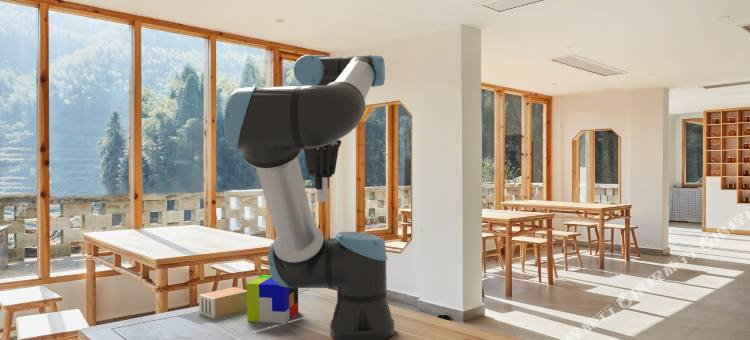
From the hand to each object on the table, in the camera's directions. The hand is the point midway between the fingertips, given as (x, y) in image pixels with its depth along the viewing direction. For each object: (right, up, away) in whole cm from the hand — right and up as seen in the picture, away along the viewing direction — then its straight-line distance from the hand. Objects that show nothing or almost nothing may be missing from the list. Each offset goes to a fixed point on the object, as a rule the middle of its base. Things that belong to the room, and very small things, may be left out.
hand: (322, 201), depth 150 cm
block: (-30, -27, -6) cm, 41 cm away
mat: (-28, -30, -3) cm, 41 cm away
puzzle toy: (-12, -30, -7) cm, 33 cm away
